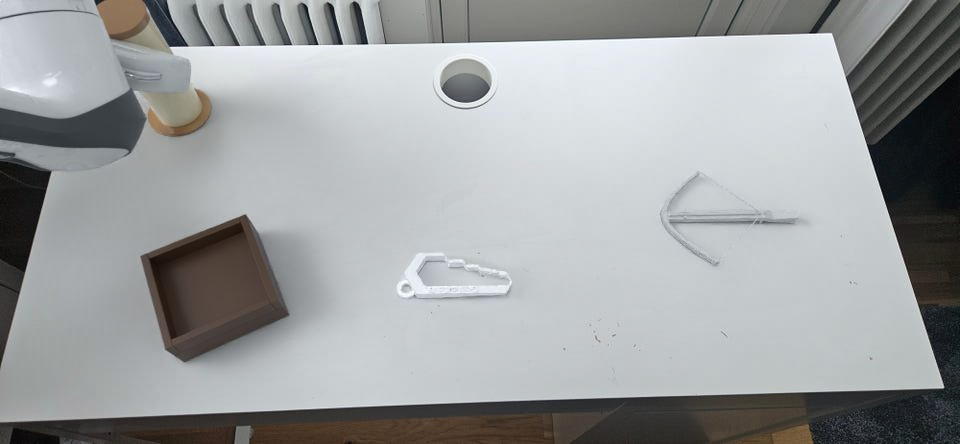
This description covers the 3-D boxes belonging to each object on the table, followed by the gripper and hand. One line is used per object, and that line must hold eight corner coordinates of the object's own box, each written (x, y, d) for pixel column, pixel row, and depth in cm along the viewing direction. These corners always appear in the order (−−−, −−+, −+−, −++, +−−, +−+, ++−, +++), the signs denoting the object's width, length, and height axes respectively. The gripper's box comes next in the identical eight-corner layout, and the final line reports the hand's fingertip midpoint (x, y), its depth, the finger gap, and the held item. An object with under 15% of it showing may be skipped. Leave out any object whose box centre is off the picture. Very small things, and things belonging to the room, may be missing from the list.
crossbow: (667, 268, 70) (671, 261, 68) (652, 178, 76) (656, 169, 74) (806, 266, 69) (814, 259, 67) (780, 176, 75) (786, 166, 73)
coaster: (156, 144, 76) (155, 143, 76) (143, 101, 79) (141, 99, 79) (218, 122, 78) (217, 121, 78) (202, 81, 81) (201, 79, 81)
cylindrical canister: (212, 107, 79) (157, 11, 65) (176, 135, 76) (110, 42, 62) (184, 85, 80) (124, -13, 66) (147, 112, 78) (77, 16, 64)
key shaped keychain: (510, 257, 69) (511, 251, 68) (512, 297, 67) (513, 291, 65) (398, 259, 69) (397, 252, 67) (396, 299, 66) (395, 293, 65)
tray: (184, 362, 63) (164, 349, 59) (158, 272, 67) (139, 255, 64) (289, 315, 65) (278, 300, 61) (258, 232, 70) (245, 213, 66)
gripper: (135, 44, 55) (228, 50, 68) (-45, -8, 58) (77, 7, 71) (130, 111, 57) (221, 104, 70) (-45, 57, 60) (74, 60, 73)
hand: (147, 54), depth 70 cm, fingers open, 8 cm apart
